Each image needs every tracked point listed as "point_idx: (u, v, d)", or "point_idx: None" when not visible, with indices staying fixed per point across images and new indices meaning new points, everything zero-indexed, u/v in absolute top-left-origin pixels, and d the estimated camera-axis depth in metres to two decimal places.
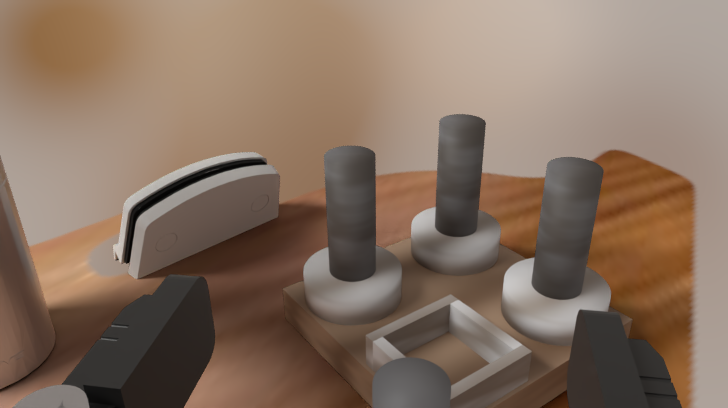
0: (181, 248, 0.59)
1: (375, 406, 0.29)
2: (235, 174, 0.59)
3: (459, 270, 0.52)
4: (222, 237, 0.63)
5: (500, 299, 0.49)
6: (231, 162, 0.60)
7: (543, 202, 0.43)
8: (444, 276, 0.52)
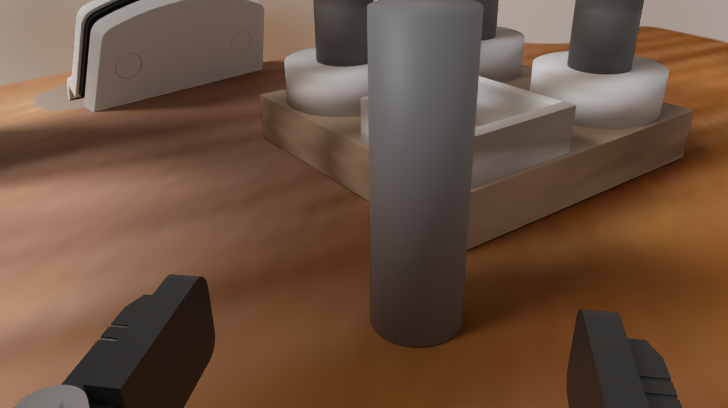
0: (147, 81, 0.50)
1: (371, 33, 0.19)
2: None
3: None
4: (197, 79, 0.54)
5: None
6: None
7: None
8: None
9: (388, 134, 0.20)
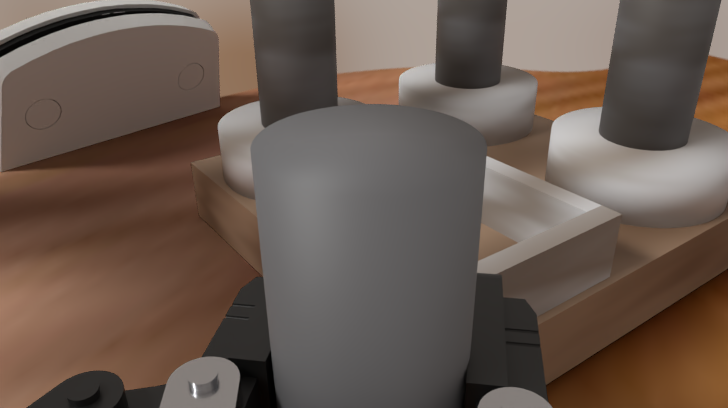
0: (70, 131, 0.40)
1: (257, 202, 0.09)
2: (149, 19, 0.40)
3: None
4: (137, 123, 0.44)
5: (543, 172, 0.30)
6: (144, 8, 0.42)
7: None
8: None
9: (299, 388, 0.10)
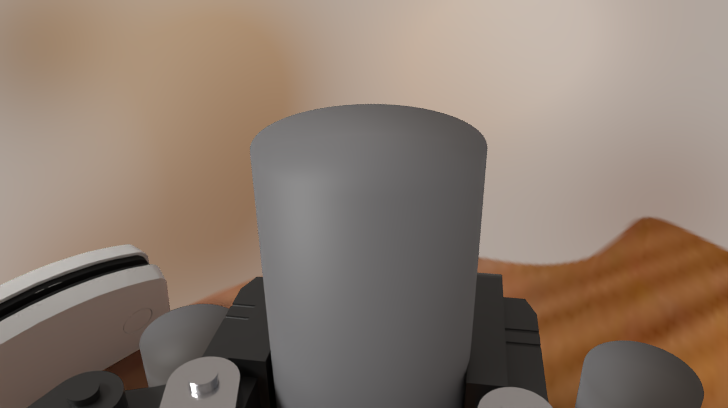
0: None
1: (257, 202, 0.09)
2: (87, 290, 0.38)
3: None
4: None
5: None
6: (84, 268, 0.39)
7: None
8: None
9: (298, 389, 0.10)
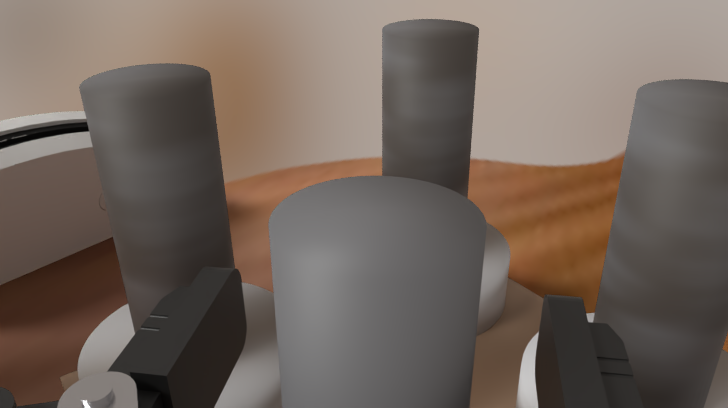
0: None
1: (274, 275, 0.10)
2: (56, 144, 0.34)
3: None
4: (50, 255, 0.37)
5: (512, 405, 0.23)
6: (53, 125, 0.35)
7: (624, 192, 0.17)
8: None
9: None
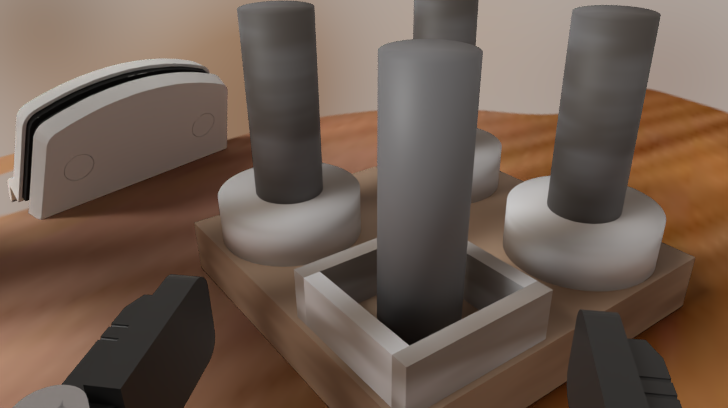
0: (100, 179, 0.45)
1: (382, 75, 0.22)
2: (169, 79, 0.45)
3: None
4: (156, 168, 0.49)
5: (501, 234, 0.34)
6: (163, 67, 0.47)
7: (566, 71, 0.29)
8: None
9: (396, 165, 0.22)
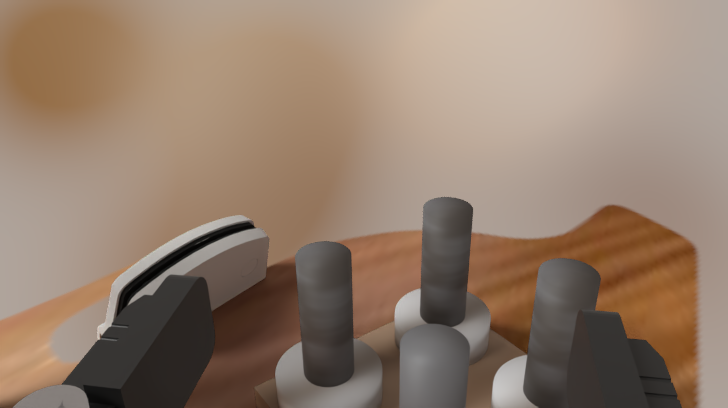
0: None
1: (403, 365, 0.32)
2: (227, 243, 0.56)
3: None
4: (212, 306, 0.60)
5: (489, 401, 0.45)
6: (220, 229, 0.58)
7: (535, 309, 0.40)
8: None
9: None
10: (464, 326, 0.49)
